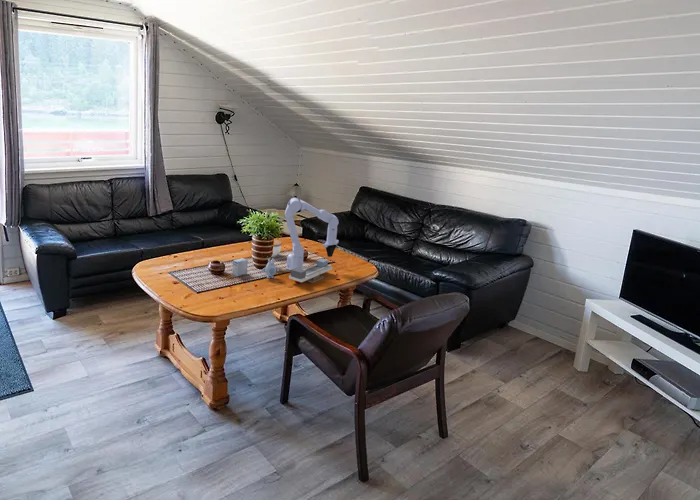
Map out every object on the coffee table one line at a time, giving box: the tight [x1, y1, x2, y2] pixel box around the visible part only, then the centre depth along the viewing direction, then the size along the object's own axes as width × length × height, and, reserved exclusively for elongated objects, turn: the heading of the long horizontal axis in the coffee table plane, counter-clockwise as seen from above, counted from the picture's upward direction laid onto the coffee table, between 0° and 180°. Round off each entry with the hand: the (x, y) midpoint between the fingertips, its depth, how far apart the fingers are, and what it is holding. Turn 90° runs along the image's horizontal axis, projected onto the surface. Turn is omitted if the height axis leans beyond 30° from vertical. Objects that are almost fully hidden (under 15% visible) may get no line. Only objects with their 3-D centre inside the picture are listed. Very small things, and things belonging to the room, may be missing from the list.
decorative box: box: [271, 239, 282, 258], centre depth 335 cm, size 13×13×11 cm
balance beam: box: [288, 263, 333, 284], centre depth 302 cm, size 11×32×8 cm, turn 150°
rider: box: [316, 258, 329, 268], centre depth 310 cm, size 4×5×4 cm
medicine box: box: [231, 257, 249, 277], centre depth 296 cm, size 8×4×9 cm, turn 146°
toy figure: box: [261, 257, 280, 279], centre depth 295 cm, size 11×6×12 cm, turn 116°
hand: (329, 256), depth 316 cm, fingers closed
